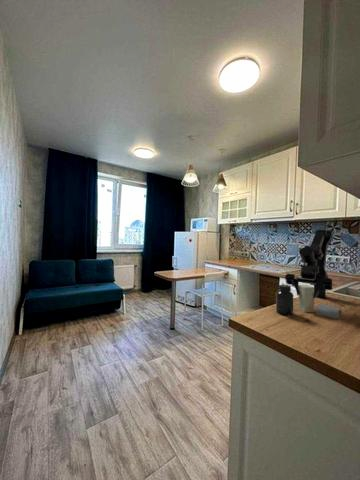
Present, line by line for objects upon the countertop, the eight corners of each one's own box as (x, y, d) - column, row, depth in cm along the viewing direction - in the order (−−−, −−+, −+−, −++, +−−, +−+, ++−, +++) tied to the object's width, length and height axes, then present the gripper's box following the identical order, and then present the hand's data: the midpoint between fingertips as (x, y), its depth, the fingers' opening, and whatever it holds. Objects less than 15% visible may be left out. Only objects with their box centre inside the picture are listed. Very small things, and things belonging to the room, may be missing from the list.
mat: (318, 305, 101) (318, 304, 101) (339, 309, 96) (339, 307, 96) (315, 314, 90) (315, 312, 90) (338, 318, 85) (338, 316, 85)
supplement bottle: (284, 309, 96) (285, 283, 96) (297, 314, 89) (297, 287, 89) (272, 311, 94) (272, 284, 93) (284, 316, 87) (284, 288, 87)
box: (314, 312, 92) (314, 287, 92) (304, 312, 92) (305, 287, 92) (307, 308, 98) (307, 284, 97) (298, 308, 98) (298, 284, 98)
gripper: (286, 257, 103) (280, 283, 95) (332, 260, 92) (331, 290, 83) (289, 271, 110) (284, 296, 101) (332, 275, 98) (331, 304, 90)
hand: (305, 296), depth 94 cm, fingers closed on box, 6 cm apart
